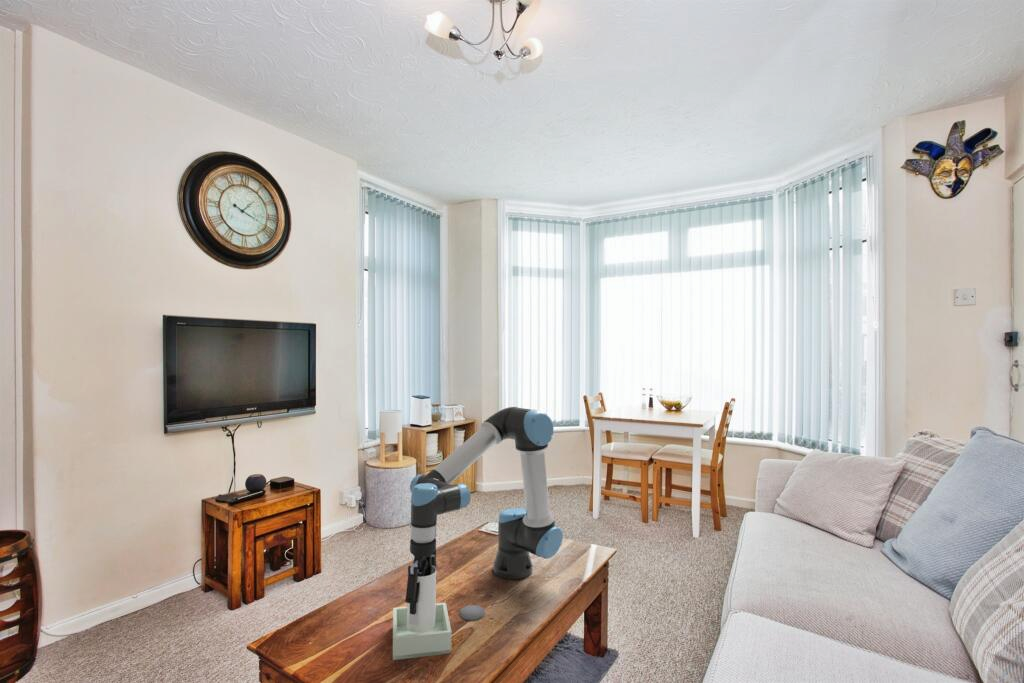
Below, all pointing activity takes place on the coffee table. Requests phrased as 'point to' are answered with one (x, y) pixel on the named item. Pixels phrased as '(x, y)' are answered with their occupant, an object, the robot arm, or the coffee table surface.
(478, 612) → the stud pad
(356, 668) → the coffee table surface
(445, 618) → the bin
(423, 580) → the cup
